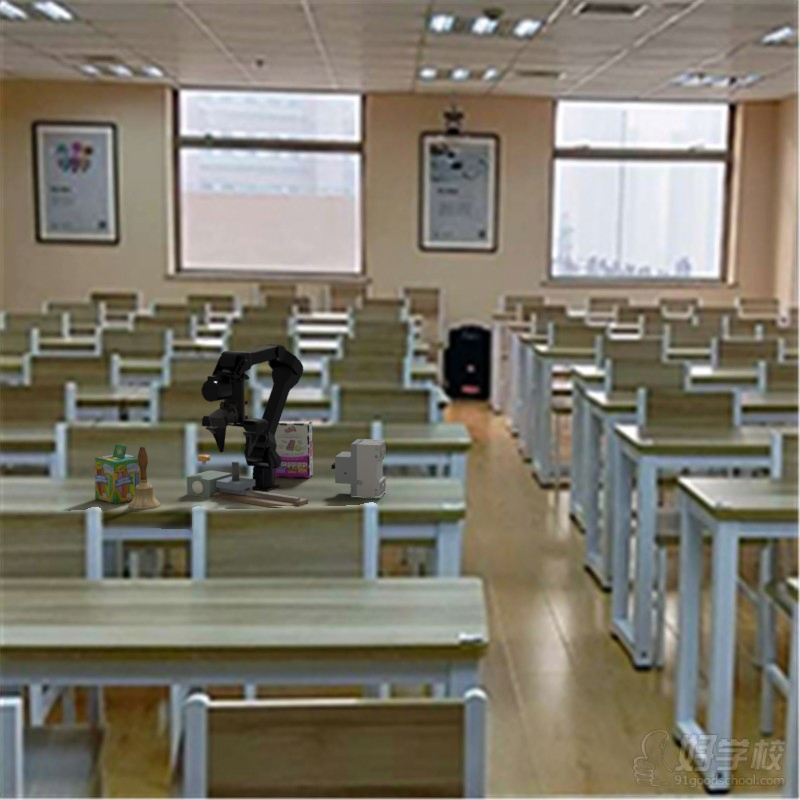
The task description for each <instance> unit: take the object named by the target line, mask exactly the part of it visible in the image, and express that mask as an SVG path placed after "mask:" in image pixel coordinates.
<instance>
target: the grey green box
mask: <svg viewBox="0 0 800 800" xmlns="http://www.w3.org/2000/svg"><path fill="white" fill-rule="evenodd" d="M231 476H232V472H227V471H226V472H224V471H219V470H218V471H217V470H213V469H212V470H207V471H203V472H199V473H195V474H192V475H191V474H190V475H188V476H186V492H187V493H186V495H189V496H194V497H195V496H196V497H202V498H208V499H210V498H211V494H212V493H216V492H219V488H218V487H216V481H217V480H221V479H224V478H228V477H231Z"/></svg>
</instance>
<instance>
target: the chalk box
mask: <svg viewBox="0 0 800 800" xmlns="http://www.w3.org/2000/svg"><path fill="white" fill-rule="evenodd" d="M113 449H114V450H113V454H110V455H103V456H97V457H94V466H95V467H94V468H95V469H94V473H95V477H94V478H95V479H94V483H95V485H94V486H95V487H94V489H95V491H94V492H95V494H94V497H95V500H96V499H97V500H100V501H103V502H108V503H111V504H114V505H116V504H121V503H124V502H131V501H132V500H133V498H134V495H135V487H136V486H137V485H139V484H140V483H141V479H140V478H141V477H140V467H139V464H138V456H135V455H132V454H127V453H126V452H127V446H126V445H123V444H118V443H116V444H115V446H114V448H113ZM119 450H121V453H118V451H119Z"/></svg>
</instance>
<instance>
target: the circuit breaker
mask: <svg viewBox="0 0 800 800" xmlns="http://www.w3.org/2000/svg"><path fill="white" fill-rule="evenodd" d="M386 454H387V446H386V440H385V439H384V440H383V439H369V438H366V439H365V438H357V439H355V441H353V442H352V443H350V451H340V452H339V453H338V454H337V455H336V456H335V457H334V458H335V460H334V463H332V464H331V465H330V466H331V470H335V471H334V481H335V482H334V483H335V484H341V485H342V484H343V485H350V498H353V497H352V496H361V497H375V496H380V495H381V494H383V492H384V491H385V492H386V487H387V483H386V482H387V481H386V479H387V477H386V476H384V475H383V467H384V466H383V463H384V462H383V460H385V456H386Z"/></svg>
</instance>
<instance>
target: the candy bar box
mask: <svg viewBox="0 0 800 800" xmlns="http://www.w3.org/2000/svg"><path fill="white" fill-rule="evenodd" d="M275 440H276V444H277V447H276V452H277V454H278V455H279V456H280V457H281V459H282V462H281V466H280V467H278V468H275V478H290V479H291V478H292V479H293V478H295V479H310V478H311V477H313V475H314V467H313V465H314V464H313V461H314V460H313V457H314V456H313V454H314V453H313V421H302V420H301V421H300V420H299V421H298V420H280V421H279V424H278V427H277V430H276V433H275Z"/></svg>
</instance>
